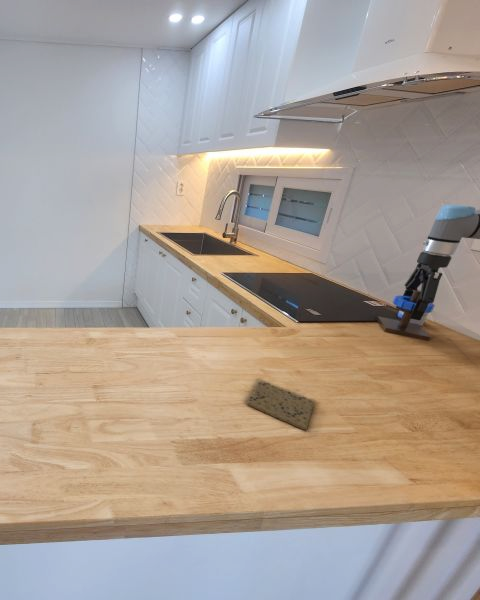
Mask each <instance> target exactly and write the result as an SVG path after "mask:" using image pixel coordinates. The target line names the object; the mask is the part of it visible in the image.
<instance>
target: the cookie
mask: <svg viewBox="0 0 480 600" xmlns="http://www.w3.org/2000/svg"><path fill="white" fill-rule="evenodd" d="M246 406H248V407H251V408H253V409H255V410H258V411H260V412H263V413H264V414H267V415H269V416H271V417H274V418H276V419H278V420H280V421H282V422H284V423H287V424H289V425H292V426H293V427H296V428H299V429H301V430H302V431H307V429H308V427H309V424H310V419H311V416H312V413H313V410H314V407H315V402H314V401H313V400H311V399H309V398H307V397H304V396H301V395H298V394H295V393H293V392H290V391H288V390H286V389H282V388H280V387H277V386H275V385H272V384H270V383H269V382H265V381H263V380H260V381H259V382H258V384H257V385H256V387H255V388H254V391H253V392H252V393H251V396H250V397H249V399H248V401H247V402H246Z"/></svg>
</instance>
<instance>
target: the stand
mask: <svg viewBox="0 0 480 600" xmlns="http://www.w3.org/2000/svg"><path fill="white" fill-rule="evenodd" d="M413 291H414V292H413V294H412V296H411V298H410V301H409V302H413V303H416V302H417V301H416V300H417V299H420V293H421V290H420V289H418V290H413ZM395 309H396V310H398V311H402V312H404V314H403V316H402V318H400V320H399V319H393V318H389V317H383V316H379V315H378V316H377V317H376V319H375V320H376V321H377V323H378V325H379V326H380V327H381V328H382V330H383V332H384V333H390V334H392V335H393V334H394V335H399V336H403V337H408V338H411V339H412V338H413V339H418V340H422V341H427V342H430V340H431V336H430V335H429V333H428V332H426V330H425V329H424V328H423V327H422V326H420V325H419V324H414V323H409V322H410V320H411V319H410V318H409V317H410V315H411V313H412V310H407V309H404V308H401V307H398V306H396V305H395ZM424 314H425V313H424ZM424 314H423V315H424Z"/></svg>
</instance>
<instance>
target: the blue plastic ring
mask: <svg viewBox="0 0 480 600" xmlns="http://www.w3.org/2000/svg"><path fill="white" fill-rule="evenodd" d="M410 298H411V297H409V296H403V295H395V296H394V299H393V301H392V304H393V305H394V306H395V307H396V306H398V307H401V308H404V309H407V310H412V311H413V309H414V306H415V304H416V303H413V302H409V301H410ZM435 306H436V305H435V304H434V302H433V303H429V304H428V306H427V308H426V310H425V312H424V313H428V314H430V313H432V312H433V310H434V309H435V308H434V307H435Z"/></svg>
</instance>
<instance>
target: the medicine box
mask: <svg viewBox="0 0 480 600" xmlns="http://www.w3.org/2000/svg"><path fill="white" fill-rule="evenodd" d="M403 314H404V312H402V311H400V310H398V313H397V317H398V318H399V319H401V318H402V316H403ZM428 315H429V313H425V314H424V315H423V316H422V318H421V320H415V319H411V320H410V322H409V323H414V324H419V325H420V326H421V327H422V326H423V325H424V323H425V321H426V320H427V317H428Z"/></svg>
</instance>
